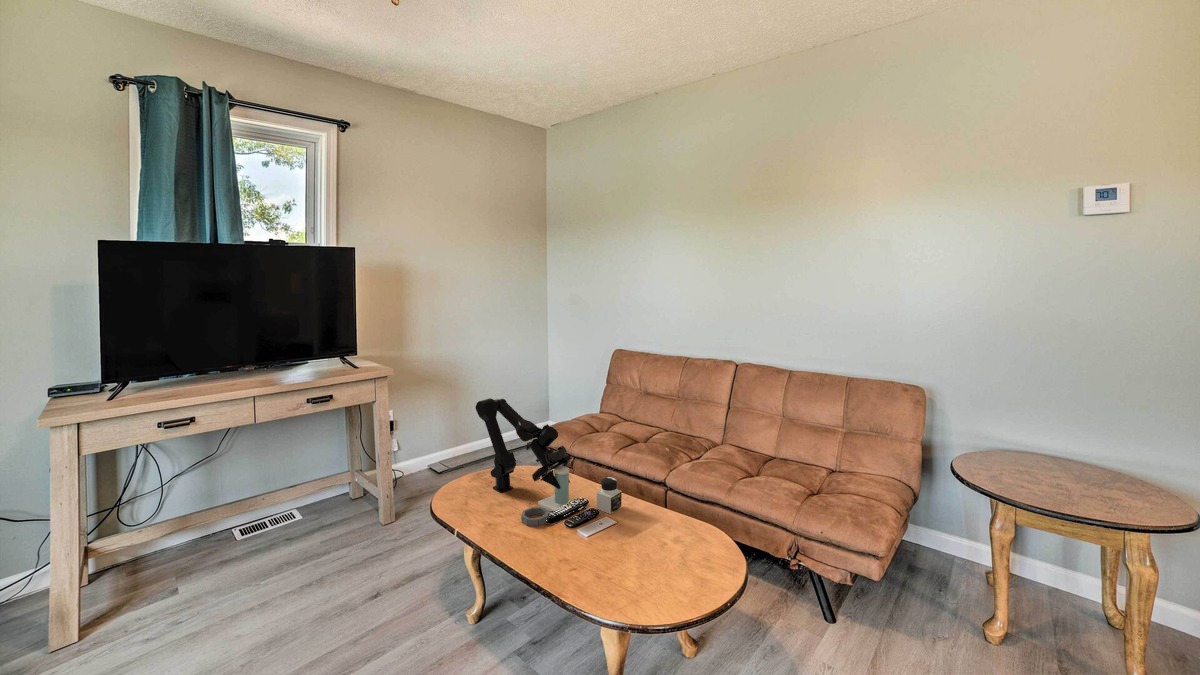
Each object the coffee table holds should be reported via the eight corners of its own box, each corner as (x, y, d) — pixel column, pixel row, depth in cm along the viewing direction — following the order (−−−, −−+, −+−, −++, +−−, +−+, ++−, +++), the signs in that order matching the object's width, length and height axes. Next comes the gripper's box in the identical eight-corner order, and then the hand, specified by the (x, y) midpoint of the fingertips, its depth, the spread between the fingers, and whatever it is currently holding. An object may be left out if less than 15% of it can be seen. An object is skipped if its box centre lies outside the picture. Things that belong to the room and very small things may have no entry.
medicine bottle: (611, 514, 185) (611, 484, 184) (596, 509, 189) (596, 480, 188) (621, 507, 191) (622, 478, 189) (607, 502, 195) (607, 474, 194)
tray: (537, 504, 193) (537, 501, 193) (557, 496, 200) (557, 493, 200) (563, 518, 182) (563, 515, 182) (583, 510, 189) (583, 507, 189)
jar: (551, 502, 189) (551, 470, 187) (558, 496, 194) (558, 465, 192) (565, 505, 186) (565, 473, 185) (571, 499, 192) (571, 467, 190)
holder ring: (517, 519, 182) (516, 512, 181) (537, 510, 188) (537, 504, 188) (532, 528, 175) (532, 522, 175) (553, 519, 181) (552, 513, 181)
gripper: (537, 448, 181) (561, 483, 177) (567, 434, 197) (590, 467, 192) (522, 464, 187) (544, 498, 182) (552, 449, 202) (574, 481, 198)
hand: (564, 485), depth 189 cm, fingers closed on jar, 5 cm apart
